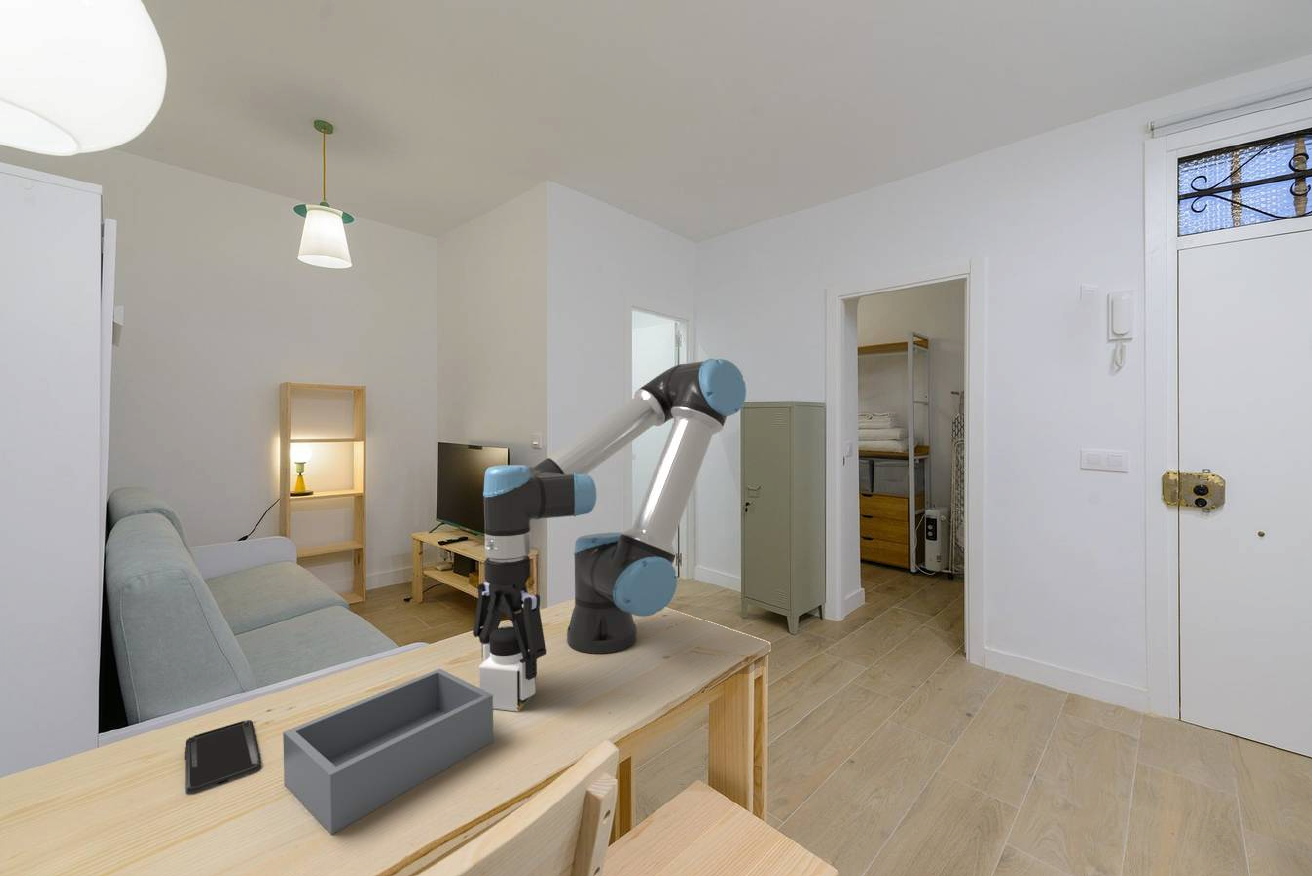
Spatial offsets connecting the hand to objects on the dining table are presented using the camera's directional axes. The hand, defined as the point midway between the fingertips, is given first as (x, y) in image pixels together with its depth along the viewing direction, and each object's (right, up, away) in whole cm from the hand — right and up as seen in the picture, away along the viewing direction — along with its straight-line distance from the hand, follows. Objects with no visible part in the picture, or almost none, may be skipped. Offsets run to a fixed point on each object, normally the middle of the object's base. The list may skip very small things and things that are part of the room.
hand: (508, 687), depth 90 cm
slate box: (-11, -3, -17) cm, 20 cm away
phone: (-36, -3, -15) cm, 40 cm away
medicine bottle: (0, -2, 0) cm, 2 cm away
